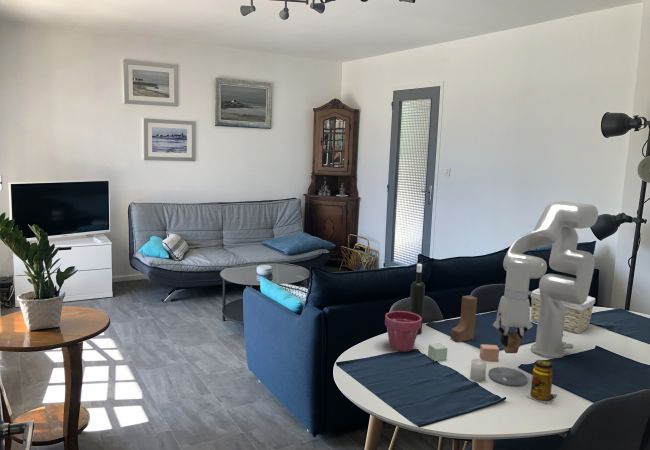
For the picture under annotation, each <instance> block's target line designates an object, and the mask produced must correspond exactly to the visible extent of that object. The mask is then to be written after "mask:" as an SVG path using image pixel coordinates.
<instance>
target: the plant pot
mask: <svg viewBox="0 0 650 450" xmlns="http://www.w3.org/2000/svg"><path fill="white" fill-rule="evenodd" d="M421 320H422V318H421V316H419V315H417V314H415V313H411V312H409V311H403V310H394V311H390V312H387V313H385V316H384V325H385V327H386V330H387V335H388V341H389V347H390V348H391V349H392V350H394V351H398V352H411V351H413V350H414V349H413V348H414V346H415V343H416V339H417V336H418V335H417V333H418V329H420V328H421Z"/></svg>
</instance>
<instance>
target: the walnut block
mask: <svg viewBox="0 0 650 450" xmlns="http://www.w3.org/2000/svg"><path fill="white" fill-rule="evenodd" d="M507 336H508V343H507V347H505V346H504V345H503V344H502V343H501V347H502V348H503V351H504V353H505V354H518V352H519V348H520V347H521V344H522V340H521V338H520V337H519V335H518V333H517V331H513V332H512V331H511V332H510V331H508V333H507ZM519 346H520V347H519Z"/></svg>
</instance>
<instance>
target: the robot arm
mask: <svg viewBox="0 0 650 450" xmlns="http://www.w3.org/2000/svg"><path fill="white" fill-rule="evenodd" d="M598 219H599V210H598V209H597V207H596V206H595V205H593V204H589V203H588V204H587V203H580V202H570V201H554V202H552V203H549V204H548V205H546V206H545V208H544V210H543V212H542V214H541V216H540V217H539V219H538V221H537V222H536V224H535V226H534V229H533V230H532V231H529V232H527V233H525V234H524V235H521V236H520V237H518V238H516V239H515V240H514V241H513V242H512V243H511V245H510V246H509V249H508V250H507V251H506V254H505V256H504V258H503V263H502V266H503V269H504V270H505V271H506V277H505V287H504V293H503V294H504V295H502V296H501V297H500V301H499V303H498V307H497V313H496V319H495V320H494V322H493V323H492V326H493V327H494V328H496V329H497V330H498V331H499V332H500V333H501V337H500V344H501V345H502V344H503V345H504V346H505V347H507V343H508V336H507V333H508V332H509V329H510V328H516V332H517V333H518V335H519V337H520V338H521V340H522V339H523V338H522V337H523V336H524V334H525V333H526V332H527V331H528V330H530V329H531V328H533V326H534V325H533V324H532V322H531V320H530V319H531V306H530V305H531V304H530V299H529V296H531V294H532V290H531V291H530V290H529V288H530V280H532V279H533V280H536V279H539V284H538V288H539V291H540V307H539V316H538V322H537V327H536V335H535V343H533V344H531V345H530V350H531V351H532V352H533V353H534V354H535V355H538V356H541V357H545V358H548V359H549V358H550V359H560V358H563V357H565V355H566V351H565V350H566V349H569V350H571V349H574V344H573V343H567V342H566V341H563V337H564V330H563V329H564V321H565V308H564V305H563V303H562V301H564V302H569V303H573V304H583V303H584V302H585V301H586V299H587V297H588V296H589V292H590V289H591V283H592V280H593V274H594V270H595V257H594V255H593V254H592V253H591V252H589V251H585V250H580V249H579V250H578V249H577V247H578V244H579V243H578V242H579V235H578V231H576V229H580V230H581V229H582V230H583V229H588V228H591V227H593V226H594V225H595V224H596V223H597V221H598ZM549 246H552V247H551V251H550V255H549V260H548V264H549V267H550V269H552V270H554V271H555V272H561V273H564V274H565V273H566V274H570V275H575V276H576V278H575V277H570V276H567V275H561V274H555V273H547V270H548V269H547V268H548V264H547V262H546V260H544V259H543V258H541V257H538V256H534V255H529V254H525V252H528V251H530V250H533V249H538V248H545V247H549ZM546 273H547V274H546ZM500 324H501V326H500ZM520 347H521V345H520V346H519V348H520Z"/></svg>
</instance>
